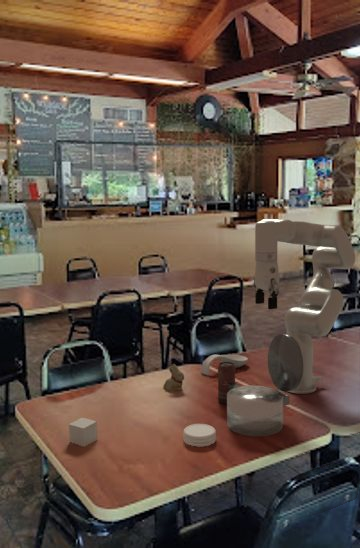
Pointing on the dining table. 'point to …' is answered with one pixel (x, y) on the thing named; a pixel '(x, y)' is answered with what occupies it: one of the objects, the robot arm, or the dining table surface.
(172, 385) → the chocolate bunny
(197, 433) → the white short cylinder
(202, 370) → the spoon rest
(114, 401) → the dining table surface
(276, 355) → the lid
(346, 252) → the robot arm
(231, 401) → the round storage jar
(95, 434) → the light grey cube
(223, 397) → the can
